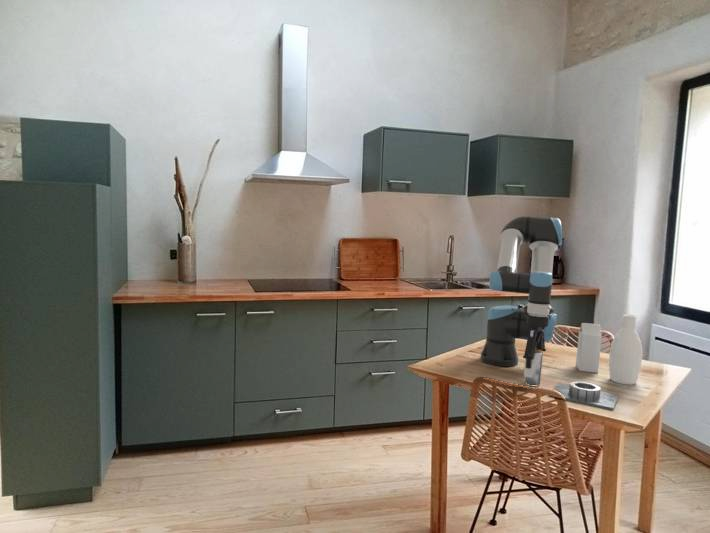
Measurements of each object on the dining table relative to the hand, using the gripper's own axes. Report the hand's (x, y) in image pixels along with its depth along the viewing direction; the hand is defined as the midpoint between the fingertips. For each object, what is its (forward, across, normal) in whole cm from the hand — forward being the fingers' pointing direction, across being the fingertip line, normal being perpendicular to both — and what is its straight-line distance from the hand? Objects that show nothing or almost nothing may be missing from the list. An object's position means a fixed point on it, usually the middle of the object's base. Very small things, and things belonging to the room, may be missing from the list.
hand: (533, 372), depth 194 cm
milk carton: (+4, +35, -13) cm, 38 cm away
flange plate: (+4, -2, -18) cm, 19 cm away
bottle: (+4, +28, -27) cm, 39 cm away
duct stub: (+4, 0, 0) cm, 4 cm away
